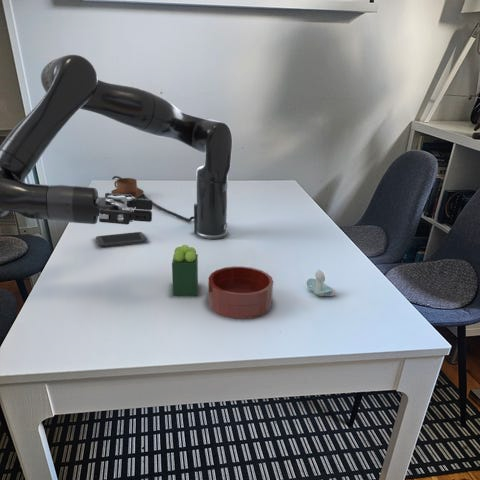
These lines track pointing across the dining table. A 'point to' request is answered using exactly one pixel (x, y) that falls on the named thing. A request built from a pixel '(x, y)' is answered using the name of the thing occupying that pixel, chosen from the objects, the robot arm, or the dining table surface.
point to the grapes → (185, 271)
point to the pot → (240, 292)
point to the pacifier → (319, 285)
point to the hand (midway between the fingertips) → (152, 210)
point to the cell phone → (120, 239)
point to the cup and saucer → (127, 187)
